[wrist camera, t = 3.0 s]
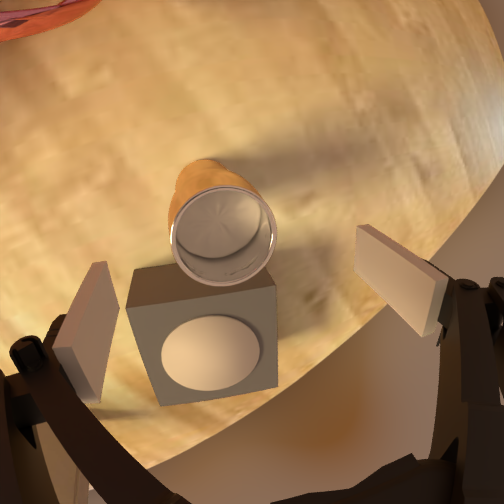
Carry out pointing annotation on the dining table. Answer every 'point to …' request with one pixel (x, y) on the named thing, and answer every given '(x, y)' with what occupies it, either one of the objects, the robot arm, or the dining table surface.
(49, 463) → the network device
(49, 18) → the spiral basket
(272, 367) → the plate
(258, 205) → the beer glass
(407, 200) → the dining table surface
